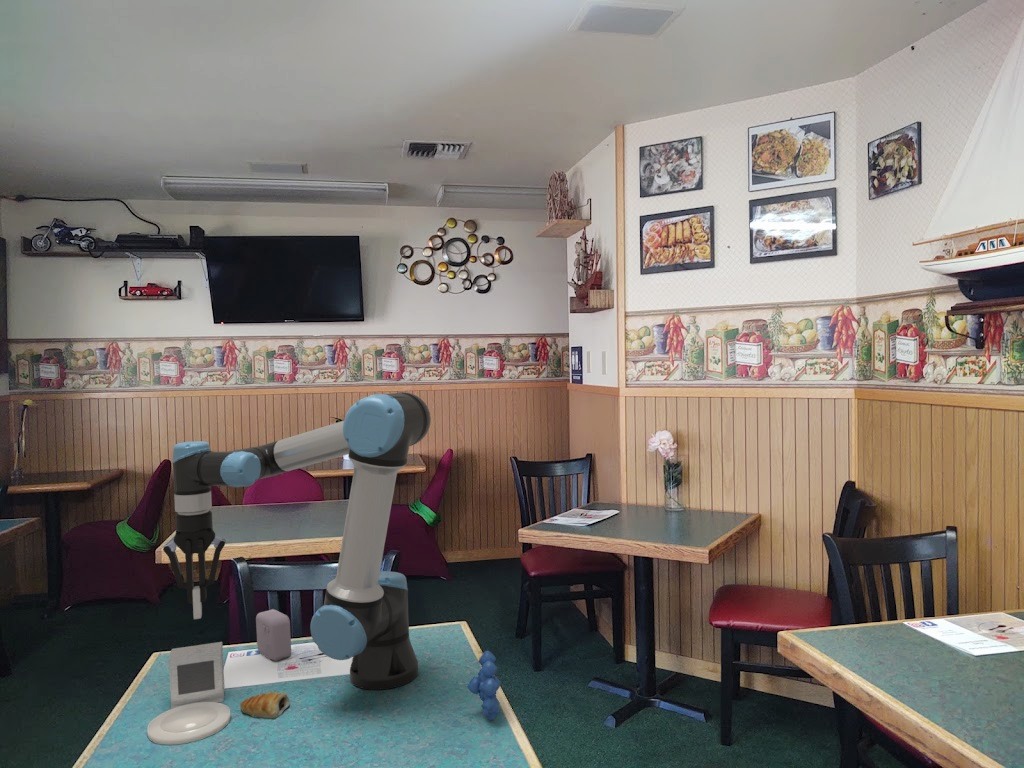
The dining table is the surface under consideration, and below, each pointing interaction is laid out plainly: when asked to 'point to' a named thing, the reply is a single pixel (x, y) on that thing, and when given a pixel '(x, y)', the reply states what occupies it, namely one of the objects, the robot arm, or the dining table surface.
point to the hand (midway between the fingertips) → (197, 616)
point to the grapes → (487, 685)
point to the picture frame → (196, 674)
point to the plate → (188, 723)
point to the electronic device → (273, 634)
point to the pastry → (265, 705)
